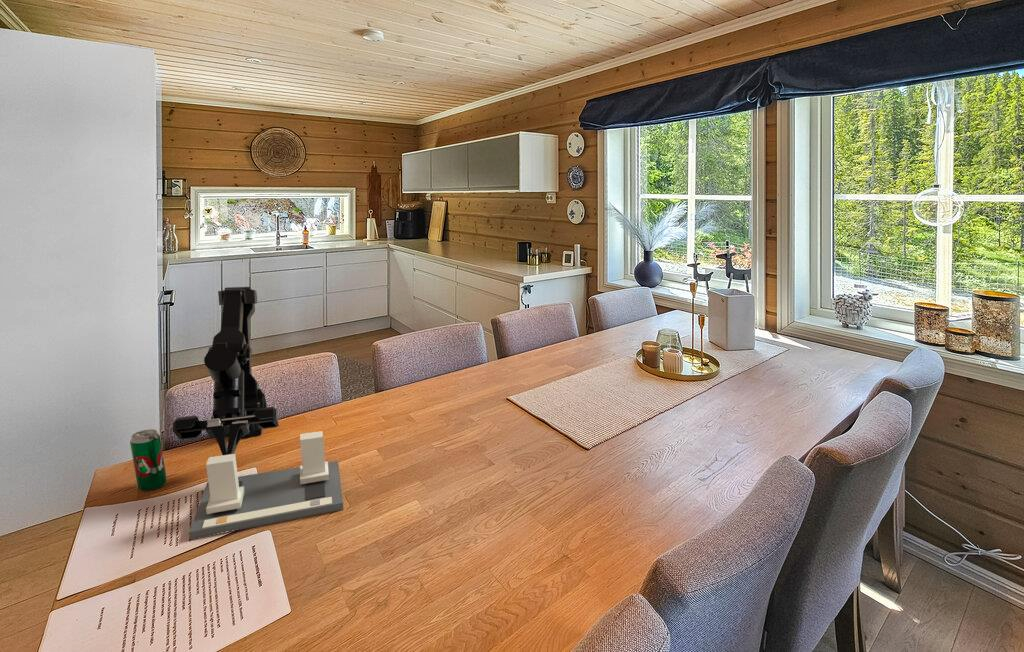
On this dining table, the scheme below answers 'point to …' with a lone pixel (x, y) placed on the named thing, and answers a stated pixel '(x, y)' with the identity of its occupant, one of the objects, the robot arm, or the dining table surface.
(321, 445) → the tab
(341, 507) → the switch board
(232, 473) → the tab front
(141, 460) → the soda can
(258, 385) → the robot arm
